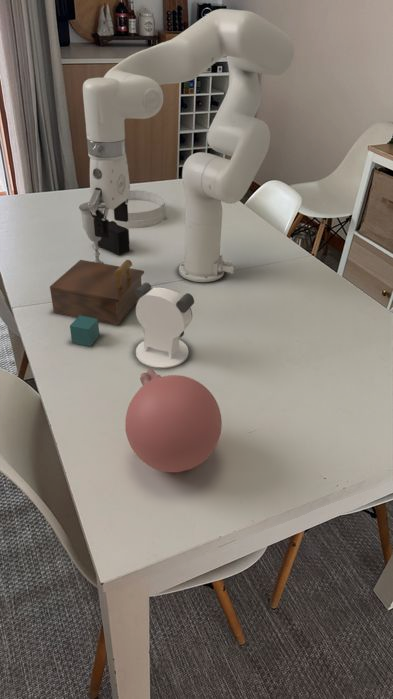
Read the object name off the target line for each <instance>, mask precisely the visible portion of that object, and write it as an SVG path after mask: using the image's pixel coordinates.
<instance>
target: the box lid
mask: <svg viewBox="0 0 393 699" xmlns="http://www.w3.org/2000/svg"><path fill="white" fill-rule="evenodd" d="M132 266H133V262H132V260H131V259H125V261H123V263H122V264H121V265H120V266H119V265H115V264H114V265H113V264H108V263H104V264H102V263H97V262H94V261H90V260H85V259H79V260H78V261H77V262H76V263H74V265H73V266H71V267H70V268H69V269H68V270H67V271H65V273H63V274H62V275H61V276H60V277H59V278H58V279H56V280H55V281H54V282H53V283H52V284H51V285H50V286H49V290H50V289H52V290H57V291H62V292H67V293H73V294H78V295H83V296H88V297H94V298H99V299H104V300H109V301H115V302H120V301H121V300H122V298H123V297H124V296H125V295H126V294H127V293H128V291H129V290H130V289H131V288H132V287H133V286H134V284H135V283H136V282H137V281H138V280H139V279H140V277H141V278H142V276H143V275H144V274H145V270H142V269H136V268H131V267H132Z"/></svg>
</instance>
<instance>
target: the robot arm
mask: <svg viewBox="0 0 393 699" xmlns="http://www.w3.org/2000/svg"><path fill="white" fill-rule="evenodd" d="M294 52H295V50H294V43H293V41H292V39H291V37H290V36H289V35H288V34H287V33H286V32H285V31H283V29H281V28H280V27H278V26H276V25H274V24H273V23H272V22H270V21H269V20H267V19H265V18H264V17H262V16H261V15H259V14H257V13H256V12H253V11H250V10H243V9H242V10H241V9H229V8H218V9H215V10H212V11H210V12H208V13H207V14H205V15H204V16H202V18H199V19H198V20H197V21H196V22H195V23H193V24H192V25H191V26H189V27H188V28H186V29H184V30H183V31H182V32H180V33H179V34H178V35H177V36H175V37H173V38H171V39H168V40H166V41H162V42H160V43H158V44H156V45H153V46H150V47H147V48H145V49H142V50H140V51H137V52H135V53H133V54H131V55H129V56H127V57H126V58H124V59H122V60H121V61H120V62H119V63H117V64H116V65H114V66H113V67H111V68H110V69H109V70H108V71H107V72H106V73H105V74H104V76H103V77H92V78H87V79H85V80H84V82H83V83H82V97H83V110H84V122H85V132H86V142H87V154H88V157H89V190H90V199H89V201H88V202H89V203H88V207H89V209H90V214H91V215H92V219H94V230H95V236H97V237H102V238H109V237H110V234H109V221H108V219H107V214H108V210H109V208H110V209H114V219H115V220H117V221H123V222H127V221H128V204H127V203H128V198H129V196H130V190H131V184H130V182H131V181H130V173H129V166H128V165H129V164H128V158H127V153H126V151H127V150H126V149H127V148H126V129H125V120H127V119H134V120H135V119H137V120H138V119H139V120H146V119H149V118H152V117H154V116H156V115H157V114H158V113H159V112H160V111H161V109H162V107H163V104H164V92H163V89H162V87H161V86H163V85H171V84H180V83H186V82H191V81H193V80H195V79H196V78H198V77H199V76H200V75H202V74H203V73H204V72H205V71H207V70H208V69H210V68H211V67H212V66H214V64H216V63H217V62H219V61H220V60H222V59H223V58H225V57H226V60H227V61H226V63H227V67H228V68H227V69H228V75H229V84H228V88H227V91H226V93H225V96H224V98H223V100H222V101H221V104H220V106H219V108H218V110H217V112H216V114H215V116H214V117H213V120H212V122H211V123H210V126H209V128H208V130H207V134H206V141H207V144H208V146H209V147H210V148H211V149H212V150H213V151H214V152H217V153H220V154H222V155H226V156H230V157H231V158H230V159H228V158H225V157H222V156H219V155H217V154H212V153H209V152H205V151H204V152H201V151H200V152H195V153H192V154H191V155H189V156H188V157H187V158H186V160H185V161H184V163H183V166H182V171H181V178H182V185H183V190H184V198H185V222H184V225H185V226H184V227H185V228H184V261H183V262H181V263H180V265H178V273H179V275H180V276H181V277H182V278H184V279H186V280H188V281H191V282H196V283H211V282H215V281H218V280H219V279H221V278H222V277H223V276H224V275H225V273H227V274H234V273H235V266H234V265H233V263H232V262H230V261H224V260H223V255H221V243H222V242H221V241H222V228H223V227H222V226H223V205H222V203H225V204H230V205H231V204H236V203H238V202H239V201H241V200H242V199H243V198H244V196H245V195H246V194H247V193H248V190H249V189H250V187H251V185H252V183H253V181H254V179H255V177H256V175H257V173H258V172H259V169H260V168H261V166H262V164H263V162H264V160H265V158H266V156H267V154H268V151H269V149H270V143H271V131H270V128H269V126H268V124H267V123H266V122H265V121H264V120H262V119H260V118H257V117H255V116H256V114H257V112H258V110H259V108H260V105H261V103H262V102H261V101H262V90H261V84H260V81H259V76H258V74H261V75H266V76H274V77H277V76H281V75H282V74H284V73H285V72H287V71H288V69H289V68H290V67H291V65H292V62H293V59H294V54H295V53H294ZM102 203H105V205H103V204H102ZM99 208H100V209H104V210H103V214H102V213H101V211H100V210H99Z"/></svg>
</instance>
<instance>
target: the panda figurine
mask: <svg viewBox="0 0 393 699" xmlns="http://www.w3.org/2000/svg"><path fill="white" fill-rule="evenodd" d="M135 296H136V297H137V298H139V299H138V300H137V302H136V306H135V315H136V319H137V321H138V323H139V324H140V326H141V327H142V328H143V340H142V341H141V342H139V343H138V345H137V346H136V348H135V356H136V358H137V360H138V361H139V362H140V363H141V364H143V365H145V366H147V367H150V368H154V369H170V368H174V367H177V366H179V365H181V364H182V363H184V362H185V361H186V360H187V358H188V357H189V347H188V345H187V344H186V343H185V342H184V341H182V340H180V338H182V337H183V336H184V335H185V330H186V329H187V327H188V326H189V325H190V324H191V322H192V320H193V311H192V308H191V307H192V306H193V305H194V304H195V298H194V296H193V295H192V294H191V293H189V292H187V293H184V294H183V295H181V294H180V293H178V292H177V291H174V290H172V289H169V288H165V287H157V286H155V287H152V285H151V283H149V282H144V283H143V284H142V286H140V287H139V288H138V289H137V290H136V291H135Z"/></svg>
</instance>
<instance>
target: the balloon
mask: <svg viewBox="0 0 393 699" xmlns="http://www.w3.org/2000/svg"><path fill="white" fill-rule="evenodd" d="M139 380H140V382H141V384H142V386H141V387H139V389H138V391H137V392H135V394H134V395H133V397H132V399H131V400H130V402H129V404H128V407H127V410H126V414H125V422H124V424H125V427H124V428H125V435H126V438H127V441H128V444H129V446H130V448H131V449H132V451H133V453H134V454H135V456H136V457H138V458H139V460H140V461H141V462H142V463H144V464H146V465H147V466H149V467H151V468H152V469H155V470H157V471H161V472H164V473H182V472H186V471H189V470H192V469H194V468H196V467H198V466H200V465H202V464H203V463H204V462H205V461H206V460H207V459H208V458H209V457H210V456H211V455H212V453H213V452H214V451H215V449H216V448H217V445H218V444H219V440H220V438H221V433H222V427H223V426H222V425H223V423H222V421H223V420H222V414H221V409H220V407H219V406H220V405H219V404H218V402H217V400H216V398H215V396H214V395H213V394H212V392H211V391H210V390H209V389H208V388H207V387H206V386H205V385H204V384H202V383H201V382H200V381H198V380H196V379H194V378H191V377H188V376H185V375H179V374H170V375H169V374H168V375H163V376H161V375H160V374H158V373H156V372H155V369H153V368H148V369H147V372H142V373H141V374H140V378H139Z"/></svg>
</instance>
